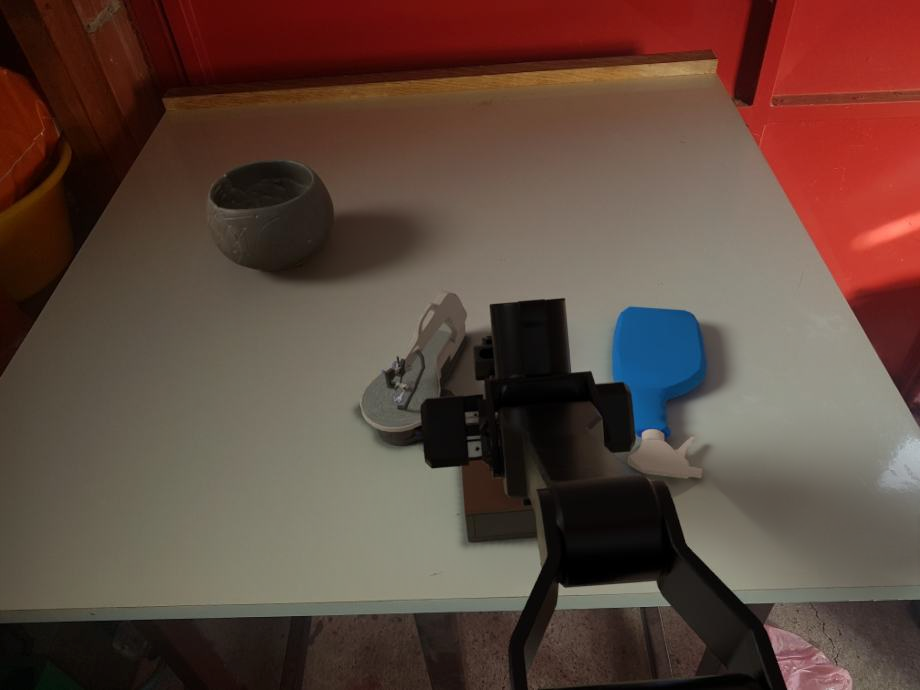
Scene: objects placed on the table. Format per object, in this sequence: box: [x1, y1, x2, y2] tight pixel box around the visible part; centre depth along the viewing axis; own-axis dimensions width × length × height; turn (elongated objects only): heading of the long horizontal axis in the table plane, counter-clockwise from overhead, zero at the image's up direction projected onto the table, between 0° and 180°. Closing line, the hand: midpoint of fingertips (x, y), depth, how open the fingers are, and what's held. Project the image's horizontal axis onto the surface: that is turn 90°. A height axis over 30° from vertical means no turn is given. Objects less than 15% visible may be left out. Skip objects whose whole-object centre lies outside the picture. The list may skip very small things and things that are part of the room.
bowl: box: [205, 158, 335, 272], centre depth 102 cm, size 18×18×13 cm
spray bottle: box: [611, 305, 707, 479], centre depth 80 cm, size 3×11×24 cm
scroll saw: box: [358, 290, 468, 447], centre depth 80 cm, size 20×11×12 cm
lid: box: [461, 413, 533, 516], centre depth 67 cm, size 10×13×5 cm
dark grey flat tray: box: [464, 509, 537, 543], centre depth 70 cm, size 10×13×5 cm
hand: (519, 417), depth 71 cm, fingers open, 6 cm apart
